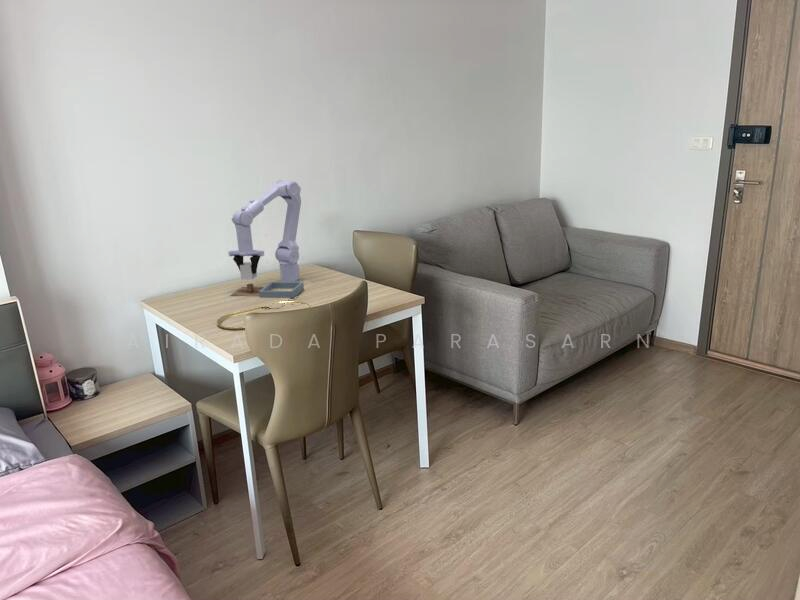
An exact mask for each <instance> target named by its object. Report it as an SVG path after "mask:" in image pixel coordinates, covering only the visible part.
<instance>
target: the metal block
mask: <svg viewBox="0 0 800 600" xmlns="http://www.w3.org/2000/svg"><path fill="white" fill-rule="evenodd" d="M239 272H240V279H241V280H254V279H256V277H258V272H257V273H255V274H253V270H252V263H251V261H248V262H246V261H245V262H244V261H243V263H242V264H241V265H240V270H239Z"/></svg>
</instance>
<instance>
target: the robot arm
mask: <svg viewBox="0 0 800 600" xmlns="http://www.w3.org/2000/svg"><path fill="white" fill-rule="evenodd" d="M301 189H302V188H301V186H300V185H299V183H298V182H296V181H293V180H292V181H291V180H290V181H289V180H281V179H280V180H278V181H277V180H276V182H275V183H273V184H272V186H271V187H270V188H269V189H268V190H267V191H266V192H265V193H264V194H262V196H261V197H260V198H258V199H256V198H254V199H250V200H249V203H247V204H246V205H245V206H242V207H241V209H240V210H235V212H234V213H233V215H232V218H231V221H232V223H233V224H234V227H235V230H236V231H235V232H236V240H237V247H238V249H237V250H230V251H228V257H233V258H232V260H233V262H234V263H235V264H236V266H237V268H238V270H239V271H240V265H241V264H242V263H244V257H249V261H250V262H251V263H252V270H253V274H255V273H257V274H258V272H257V271H258V265H259V261H260V259H261V257H264V256H265V250H258V249H254V247H253V246H254V245H253V238H252V229H251V228H252V227H251V225H252V223H253V221H254V219H255V218H256V217H257V216H258V215H260V214H261V213H262V212H264V210H265V209H264V208H265V206H266V205H268V204H269V203H271V202H272V201H273V200H275V199H276V198H277V197H281V198H282V199H283V200H284V201H285V202H286V204H287V206H286V207H287V208H286V215H285V221H284V227H283V235H282V239H281V241H280V242H278V243H277V244H278V245H277V247H276V250H275V254H274V255H275V259H276V260H277V261H278V263H279V270H280V271H279V273H280V282H299V280H303V278H301V275H300V266H299V264H298V261H299V259H300V252H299V245H298V244H297V243H296V240H297V231H298V225H299V218H300V213H301V212H300V211H301V206H302V199H301Z"/></svg>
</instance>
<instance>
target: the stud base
mask: <svg viewBox="0 0 800 600" xmlns="http://www.w3.org/2000/svg"><path fill="white" fill-rule="evenodd" d="M264 287H265V286H262V287H261V286H254V284H253V283H247V284H246V286H241V287H240V288H239V289H237V290H236V291H234V292H233V293H231V294H230V295H229V297H259V291H260V290H261V289H263V288H264Z"/></svg>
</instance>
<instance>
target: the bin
mask: <svg viewBox="0 0 800 600" xmlns="http://www.w3.org/2000/svg"><path fill="white" fill-rule="evenodd" d="M263 287H264V288H263V289H261V290H260V291H259V296H258V297H259V298H262V299H263V298H266V299H267V298H269V299H270V298H276V299H278V298H279V299H280V298H281V299H286V298H287V299H294V298H295V297H296V296H297V297H298V296H300V294H302V293H301V292H302V291H303V290H304V291H305V287H304V281H296V282H281V281H271V282H269V283H268V284H267V285H265V286H263ZM274 289H286V290H274ZM287 289H288V290H287ZM289 289H291V290H289ZM304 291H303V292H304ZM297 297H296V298H297ZM296 298H295V299H296ZM295 299H294V300H295Z"/></svg>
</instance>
